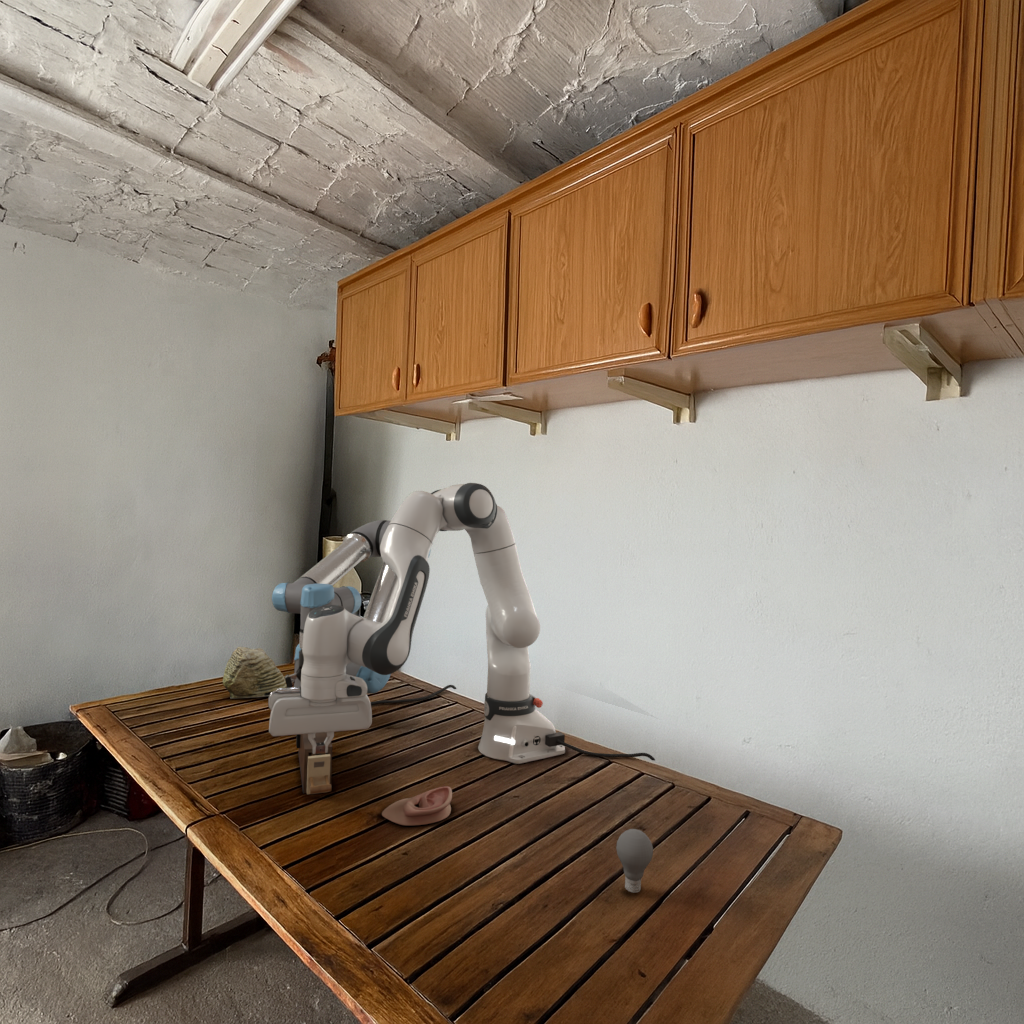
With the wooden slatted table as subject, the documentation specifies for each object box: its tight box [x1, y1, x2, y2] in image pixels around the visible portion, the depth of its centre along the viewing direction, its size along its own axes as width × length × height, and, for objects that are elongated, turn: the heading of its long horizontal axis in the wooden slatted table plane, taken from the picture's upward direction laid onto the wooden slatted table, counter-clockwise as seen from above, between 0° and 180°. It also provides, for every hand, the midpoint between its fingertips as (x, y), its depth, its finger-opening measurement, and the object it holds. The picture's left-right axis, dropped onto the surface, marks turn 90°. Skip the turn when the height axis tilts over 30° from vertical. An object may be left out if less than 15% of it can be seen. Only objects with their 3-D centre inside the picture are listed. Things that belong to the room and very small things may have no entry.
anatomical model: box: [381, 785, 453, 827], centre depth 129 cm, size 13×4×12 cm
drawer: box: [306, 752, 332, 795], centre depth 140 cm, size 27×4×8 cm, turn 21°
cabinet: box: [298, 732, 333, 794], centre depth 146 cm, size 22×6×10 cm, turn 21°
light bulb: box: [615, 828, 654, 894], centre depth 106 cm, size 6×6×10 cm
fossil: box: [222, 646, 287, 699], centre depth 198 cm, size 9×18×15 cm, turn 132°
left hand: (312, 744), depth 152 cm, fingers closed on cabinet, 6 cm apart
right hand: (319, 752), depth 130 cm, fingers closed
